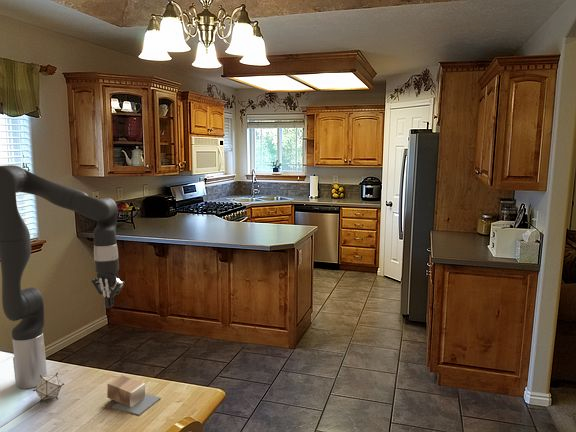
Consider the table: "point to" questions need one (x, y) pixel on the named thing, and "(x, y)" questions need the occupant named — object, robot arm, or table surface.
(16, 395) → the table surface
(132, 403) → the walnut block
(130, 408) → the slate-grey rubber mat
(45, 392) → the game die
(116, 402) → the stop strip
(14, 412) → the table surface
